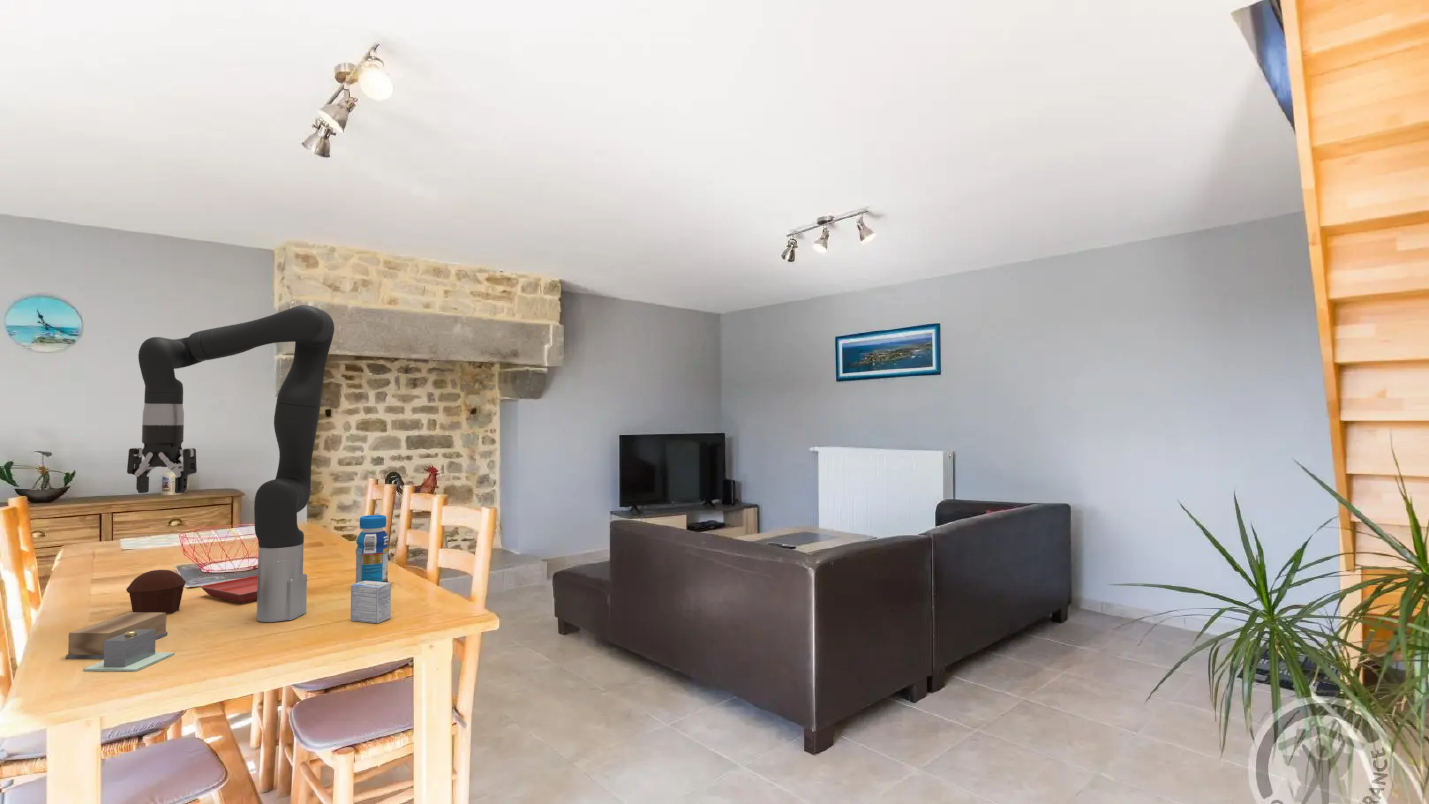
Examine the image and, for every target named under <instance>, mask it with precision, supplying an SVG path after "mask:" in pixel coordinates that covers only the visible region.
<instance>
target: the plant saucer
mask: <svg viewBox="0 0 1429 804" xmlns="http://www.w3.org/2000/svg"><path fill="white" fill-rule="evenodd" d="M257 580H258V574H257V575H252V576H247V577H240V578H236V579H231V580H225V581H221V582H216V583H210V584H204V585H201V586H200V588H201V589H202V590H203V591H204V592H205V593H206V594H208V596H210V597H212V598H217V599H220V600H225V601H229V602H234V603H240V604H246V603H251V602H255V601H257ZM308 581H309V580H308V579H307V582H308Z"/></svg>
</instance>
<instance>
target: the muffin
mask: <svg viewBox="0 0 1429 804" xmlns="http://www.w3.org/2000/svg"><path fill="white" fill-rule="evenodd" d="M186 583H187V580H185V579H184V578H183V577H182V576H181V575H180V573H177V572H174V571H172V570H170V569H155V570H150V571H147V572H143V573H141V574H140V575H138V576H136V577H135V578H134V579H133V580H132V581H131V582H130V584H128V585H129V586H127V587H126V588H125V589H126V592H127V593H128V594H129V599H130V604H131V611H132V612H155V613H166V616H167V615H172V614H174V613H176V612H178V611H180V606H181V603H182V598H183V592H184V587H185V585H186Z"/></svg>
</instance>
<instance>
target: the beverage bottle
mask: <svg viewBox="0 0 1429 804" xmlns="http://www.w3.org/2000/svg"><path fill="white" fill-rule="evenodd" d="M386 527H387V515H384V514H370V515H362V516H361V517H359V530H361V531H360V533H359V534H358V536H357V537H356V541H355V542H356V545H357V547H356V549H355V556H356V557H355V583H358V582H362V581H376V582H386V583H389V580H388V578H389V574H388V573H389V553H390V546H389V544H388V543H389V541H390V539H389V536H388V534H387V532H386V531H385V528H386Z"/></svg>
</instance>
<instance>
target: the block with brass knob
mask: <svg viewBox="0 0 1429 804" xmlns="http://www.w3.org/2000/svg"><path fill="white" fill-rule="evenodd" d="M156 641H157V640H156V629H134V630H131V631H127V632H125V633H124V634H121V635H118V636H116V637H113V638H110V639H108V640H105V641H104V659H103V661H104V667H127V666H129V665H131V664H134V663H136V662H138V661H141V660H143V659H145V658H148V657H150V656H152V655H154V654H155V652H156Z"/></svg>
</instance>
